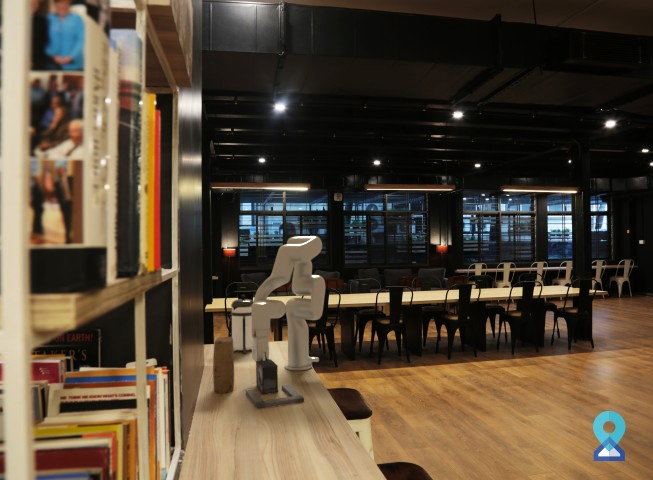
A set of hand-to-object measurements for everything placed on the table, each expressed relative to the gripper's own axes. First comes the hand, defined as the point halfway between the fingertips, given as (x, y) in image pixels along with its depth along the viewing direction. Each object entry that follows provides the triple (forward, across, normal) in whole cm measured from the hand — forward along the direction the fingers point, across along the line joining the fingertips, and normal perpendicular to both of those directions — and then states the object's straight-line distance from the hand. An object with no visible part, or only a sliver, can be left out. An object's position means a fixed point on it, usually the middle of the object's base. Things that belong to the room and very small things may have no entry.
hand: (261, 378), depth 181 cm
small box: (+2, +8, 0) cm, 9 cm away
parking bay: (+2, +19, 0) cm, 19 cm away
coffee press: (+2, -63, +6) cm, 63 cm away
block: (+2, +1, -15) cm, 15 cm away
